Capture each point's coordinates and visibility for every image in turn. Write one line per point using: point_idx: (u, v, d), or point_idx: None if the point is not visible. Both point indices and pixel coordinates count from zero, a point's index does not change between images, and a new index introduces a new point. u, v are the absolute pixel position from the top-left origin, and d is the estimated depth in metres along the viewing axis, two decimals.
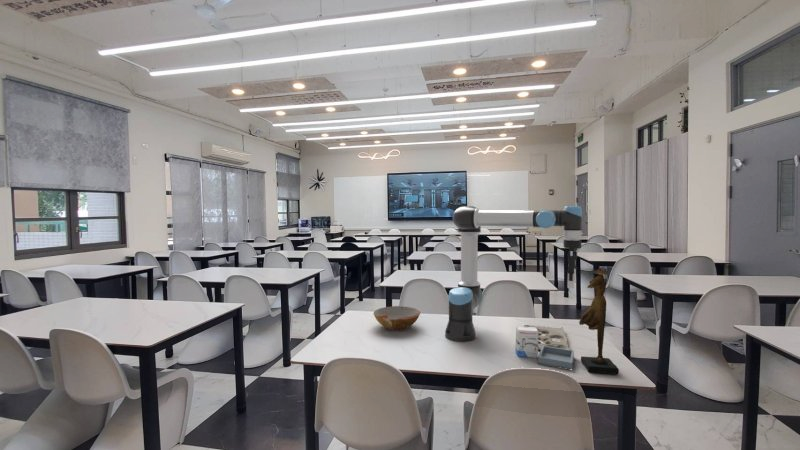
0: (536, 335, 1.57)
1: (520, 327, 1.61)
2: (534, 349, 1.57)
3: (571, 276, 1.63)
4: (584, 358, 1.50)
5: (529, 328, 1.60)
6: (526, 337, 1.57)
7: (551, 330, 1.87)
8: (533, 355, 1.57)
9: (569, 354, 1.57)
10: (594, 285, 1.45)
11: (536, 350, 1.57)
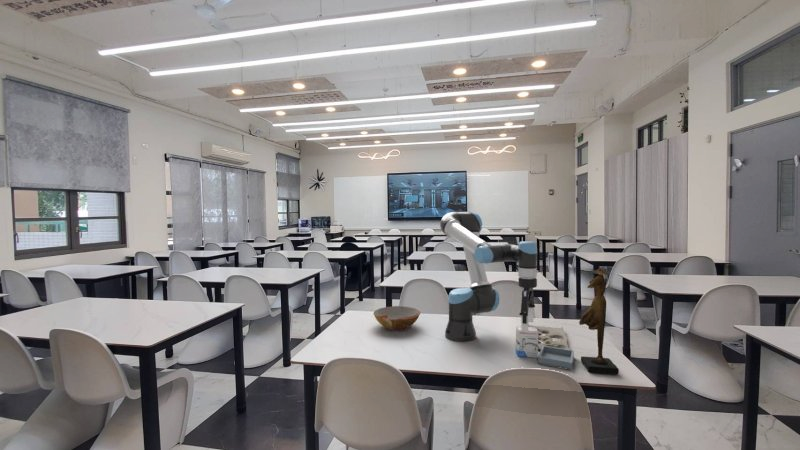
0: (536, 335, 1.57)
1: (520, 327, 1.61)
2: (534, 349, 1.57)
3: (525, 318, 1.51)
4: (584, 358, 1.50)
5: (529, 328, 1.60)
6: (526, 337, 1.57)
7: (551, 330, 1.87)
8: (533, 355, 1.57)
9: (569, 354, 1.57)
10: (594, 285, 1.45)
11: (536, 350, 1.57)
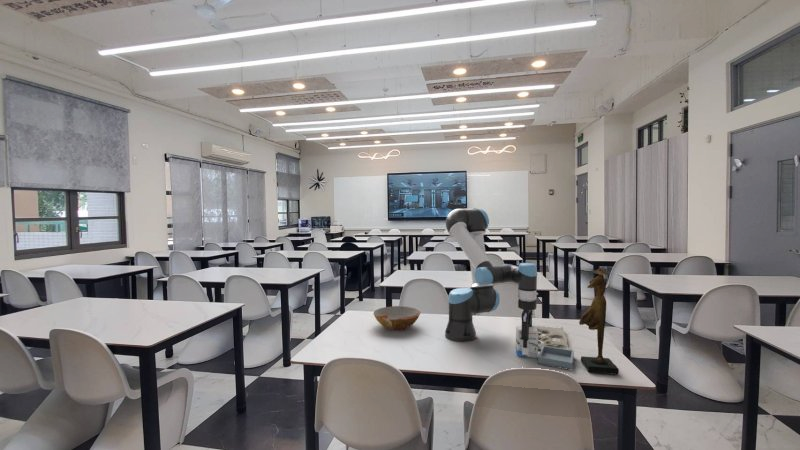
0: (536, 335, 1.57)
1: (520, 327, 1.61)
2: (534, 349, 1.57)
3: (525, 343, 1.55)
4: (584, 358, 1.50)
5: (529, 328, 1.60)
6: None
7: (551, 330, 1.87)
8: (533, 355, 1.57)
9: (569, 354, 1.57)
10: (594, 285, 1.45)
11: (536, 350, 1.57)
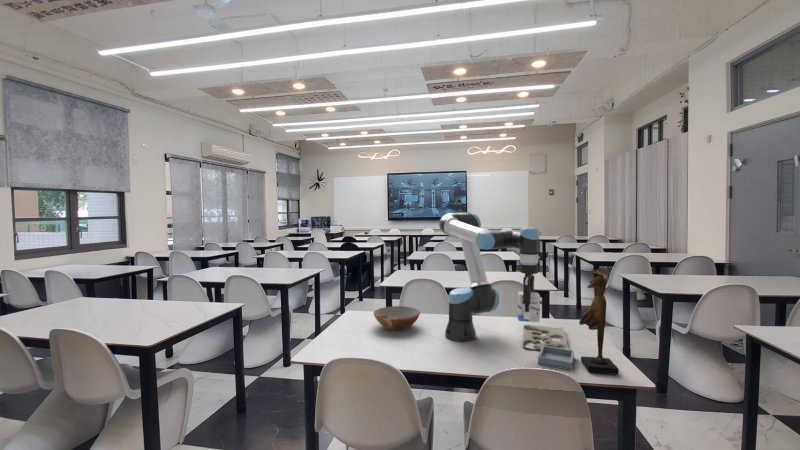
0: (538, 299, 1.56)
1: (522, 292, 1.59)
2: (535, 313, 1.56)
3: (527, 307, 1.54)
4: (584, 358, 1.50)
5: (531, 293, 1.59)
6: None
7: (551, 330, 1.87)
8: (535, 320, 1.56)
9: (569, 354, 1.57)
10: (594, 285, 1.45)
11: (538, 315, 1.56)
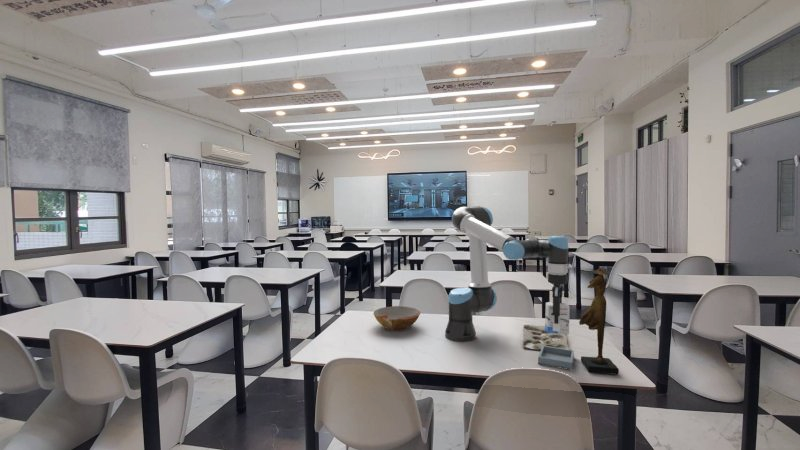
0: (567, 310, 1.50)
1: (550, 303, 1.54)
2: (565, 325, 1.50)
3: (556, 318, 1.49)
4: (584, 358, 1.50)
5: (560, 304, 1.53)
6: None
7: None
8: (564, 331, 1.51)
9: (569, 354, 1.57)
10: (594, 285, 1.45)
11: (567, 327, 1.50)
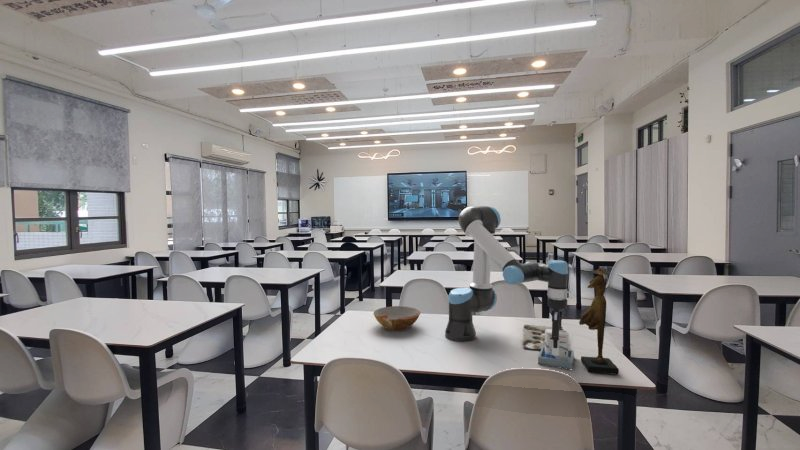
0: (566, 339, 1.51)
1: (549, 330, 1.55)
2: (564, 353, 1.51)
3: (555, 343, 1.48)
4: (584, 358, 1.50)
5: (559, 331, 1.54)
6: None
7: None
8: (563, 359, 1.51)
9: (569, 354, 1.57)
10: (594, 285, 1.45)
11: (566, 355, 1.51)
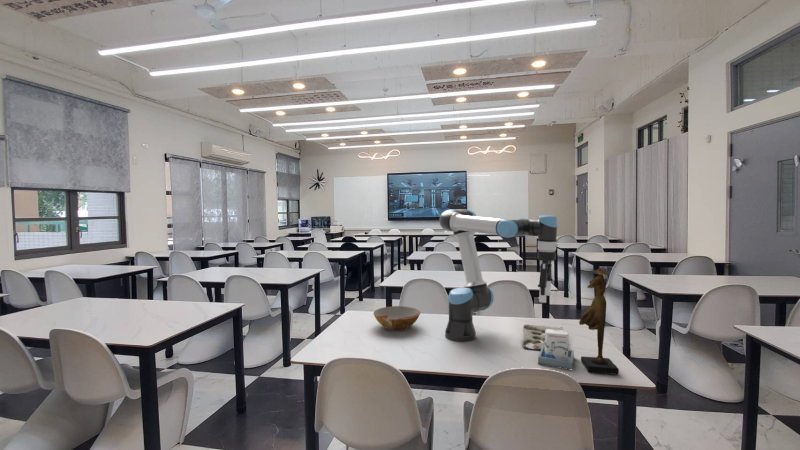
0: (566, 339, 1.51)
1: (549, 330, 1.55)
2: (564, 353, 1.51)
3: (543, 290, 1.55)
4: (584, 358, 1.50)
5: (559, 331, 1.54)
6: (555, 340, 1.52)
7: None
8: (563, 359, 1.51)
9: (569, 354, 1.57)
10: (594, 285, 1.45)
11: (566, 355, 1.51)
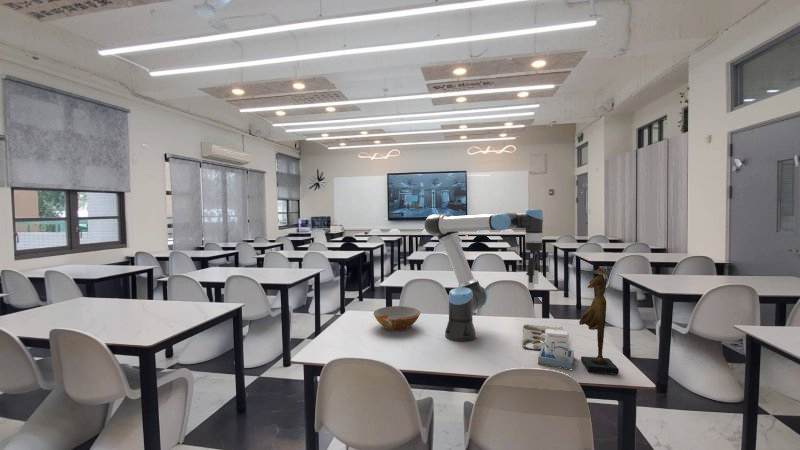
0: (566, 339, 1.51)
1: (549, 330, 1.55)
2: (564, 353, 1.51)
3: (531, 278, 1.66)
4: (584, 358, 1.50)
5: (559, 331, 1.54)
6: (555, 340, 1.52)
7: None
8: (563, 359, 1.51)
9: (569, 354, 1.57)
10: (594, 285, 1.45)
11: (566, 355, 1.51)
